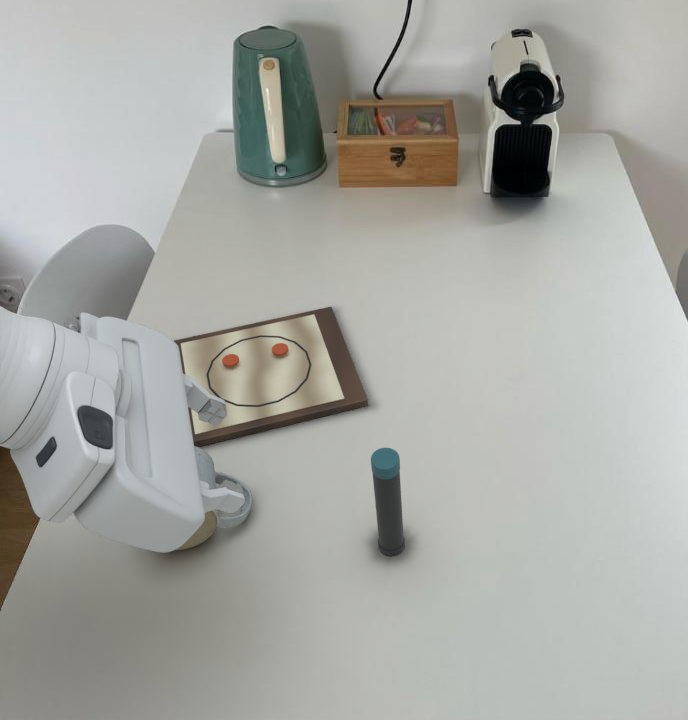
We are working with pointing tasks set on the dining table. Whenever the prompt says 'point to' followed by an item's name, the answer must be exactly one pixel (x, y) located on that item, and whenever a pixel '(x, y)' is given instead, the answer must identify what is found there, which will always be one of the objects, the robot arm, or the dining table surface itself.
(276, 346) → the right eye
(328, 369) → the brown framed board
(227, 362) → the left eye
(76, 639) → the dining table surface
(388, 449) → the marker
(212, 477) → the ceramic mug
